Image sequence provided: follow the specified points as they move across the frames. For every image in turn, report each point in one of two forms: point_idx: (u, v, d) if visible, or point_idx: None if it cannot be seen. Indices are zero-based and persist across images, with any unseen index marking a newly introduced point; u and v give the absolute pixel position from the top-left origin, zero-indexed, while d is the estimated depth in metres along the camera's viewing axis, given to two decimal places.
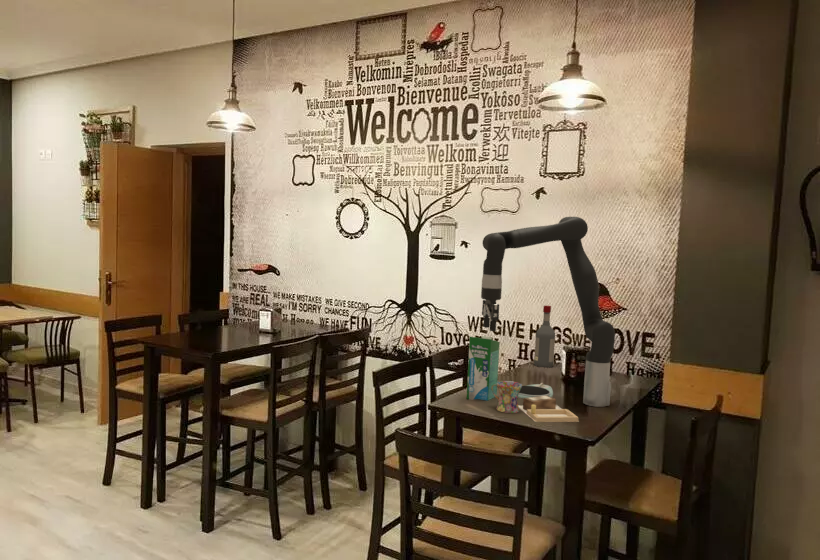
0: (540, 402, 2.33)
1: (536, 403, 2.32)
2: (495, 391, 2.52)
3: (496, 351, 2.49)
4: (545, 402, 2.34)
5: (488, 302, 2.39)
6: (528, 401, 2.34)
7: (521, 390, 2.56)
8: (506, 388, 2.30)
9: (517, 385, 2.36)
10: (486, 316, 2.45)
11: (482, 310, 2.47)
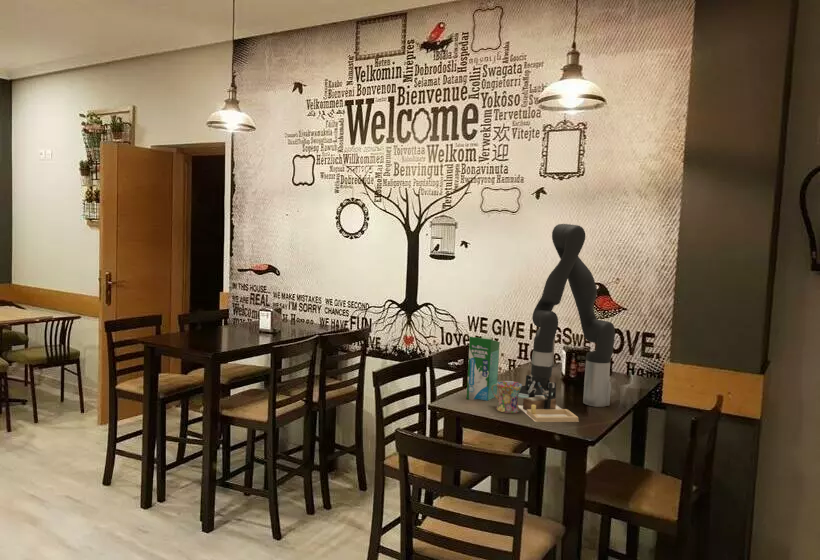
0: (540, 402, 2.33)
1: (536, 403, 2.32)
2: (495, 391, 2.52)
3: (496, 351, 2.49)
4: None
5: None
6: (528, 401, 2.34)
7: (521, 390, 2.56)
8: (506, 388, 2.30)
9: (517, 385, 2.36)
10: None
11: None
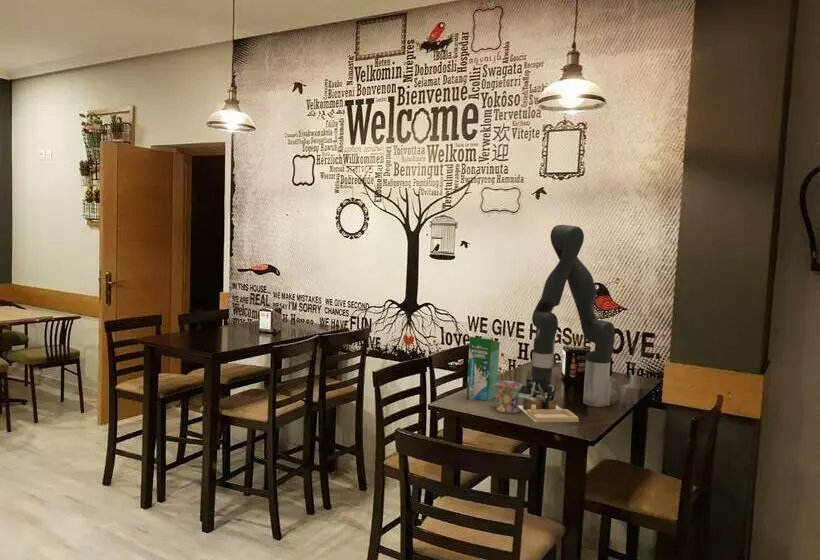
0: (540, 402, 2.33)
1: (536, 403, 2.32)
2: (495, 391, 2.52)
3: (496, 351, 2.49)
4: None
5: None
6: (528, 401, 2.33)
7: (521, 390, 2.56)
8: (506, 388, 2.30)
9: (517, 385, 2.36)
10: None
11: None
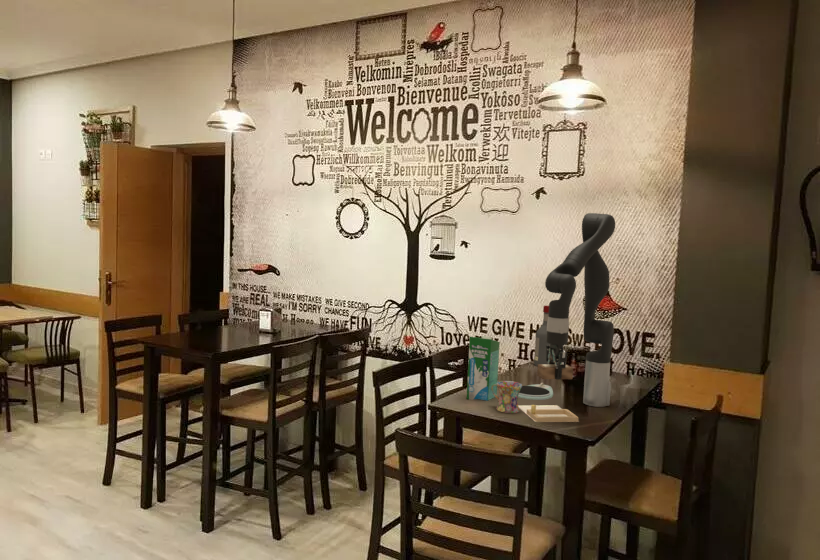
0: (552, 369, 2.22)
1: (547, 369, 2.22)
2: (495, 391, 2.52)
3: (496, 351, 2.49)
4: None
5: None
6: (540, 367, 2.24)
7: (521, 390, 2.56)
8: (506, 388, 2.30)
9: (517, 385, 2.36)
10: None
11: None
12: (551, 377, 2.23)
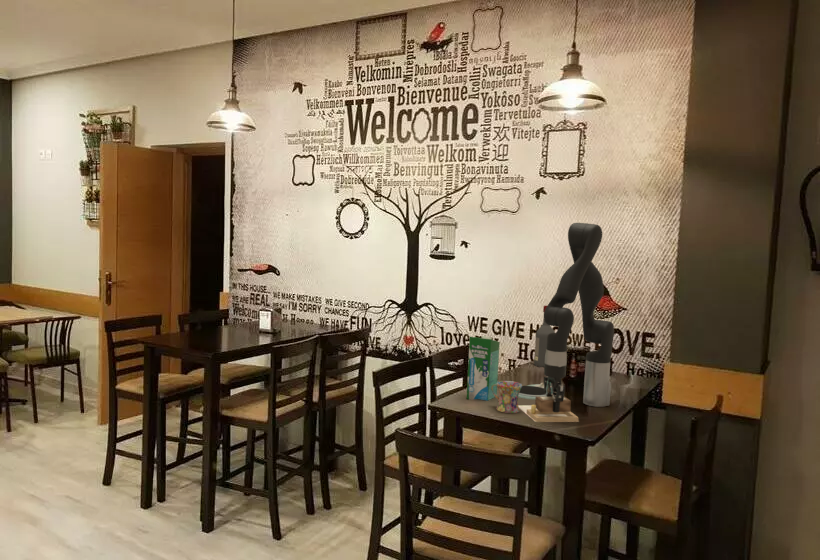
0: (550, 402, 2.23)
1: (545, 402, 2.23)
2: (495, 391, 2.52)
3: (496, 351, 2.49)
4: None
5: None
6: (538, 400, 2.25)
7: (521, 390, 2.56)
8: (506, 388, 2.30)
9: (517, 385, 2.36)
10: None
11: None
12: (549, 410, 2.24)
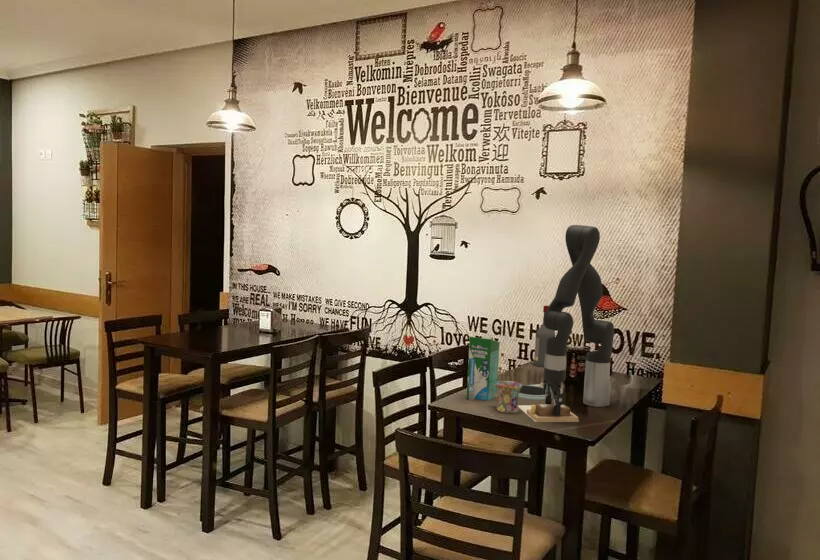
0: (550, 410, 2.24)
1: (544, 410, 2.23)
2: (495, 391, 2.52)
3: (496, 351, 2.49)
4: None
5: None
6: (538, 407, 2.26)
7: (521, 390, 2.56)
8: (506, 388, 2.30)
9: (517, 385, 2.36)
10: None
11: (563, 399, 2.20)
12: None
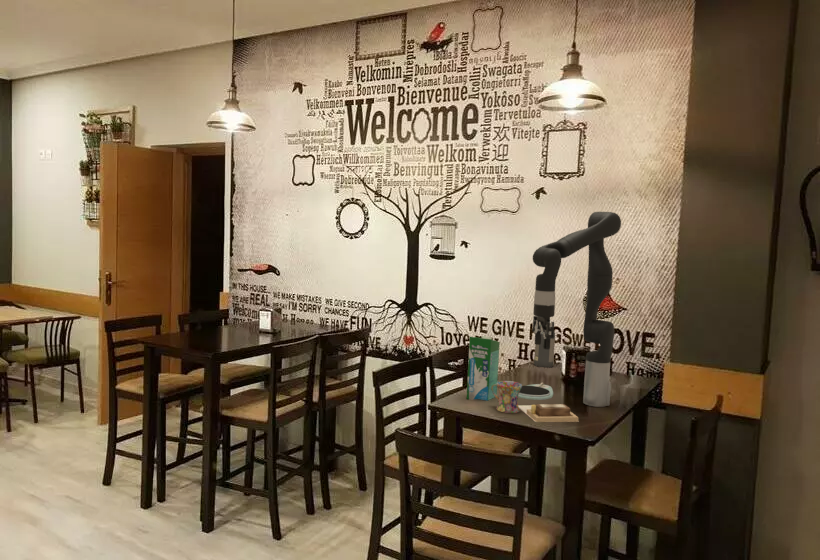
0: (550, 410, 2.24)
1: (544, 410, 2.23)
2: (495, 391, 2.52)
3: (496, 351, 2.49)
4: (557, 411, 2.24)
5: None
6: (538, 407, 2.26)
7: (521, 390, 2.56)
8: (506, 388, 2.30)
9: (517, 385, 2.36)
10: None
11: None
12: None
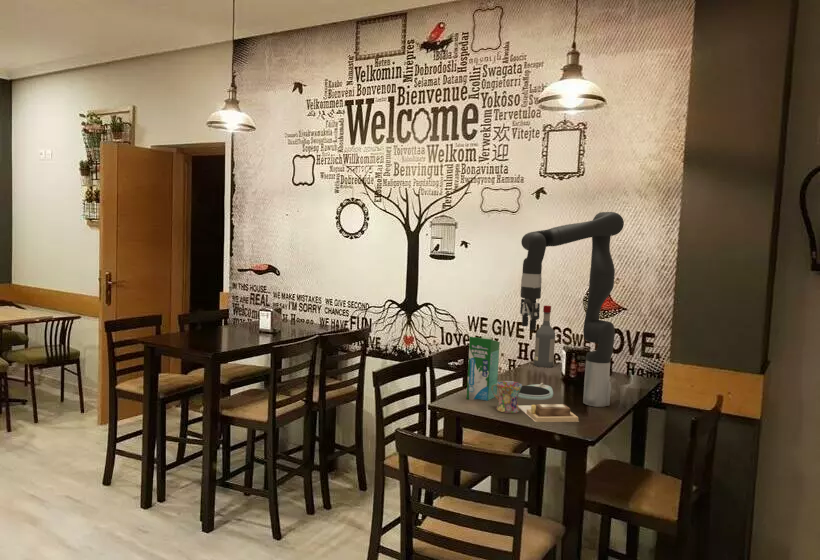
0: (550, 410, 2.24)
1: (544, 410, 2.23)
2: (495, 391, 2.52)
3: (496, 351, 2.49)
4: (557, 411, 2.24)
5: None
6: (538, 407, 2.26)
7: (521, 390, 2.57)
8: (506, 388, 2.30)
9: (517, 385, 2.36)
10: None
11: (538, 314, 2.35)
12: None
